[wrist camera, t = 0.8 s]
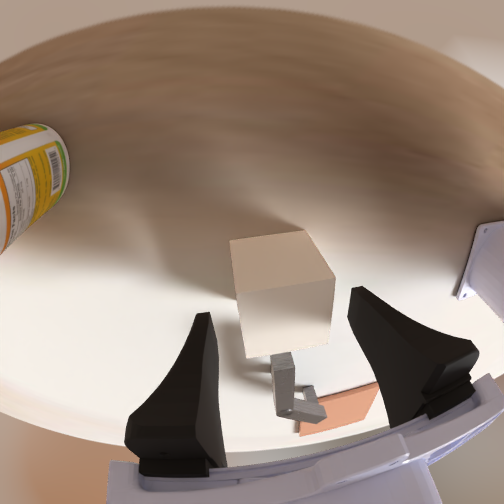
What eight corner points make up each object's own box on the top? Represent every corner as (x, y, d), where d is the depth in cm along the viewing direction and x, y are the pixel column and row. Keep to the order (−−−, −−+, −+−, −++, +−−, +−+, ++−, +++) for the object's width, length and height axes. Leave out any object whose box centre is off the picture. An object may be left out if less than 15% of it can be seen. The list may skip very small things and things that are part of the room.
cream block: (305, 229, 17) (335, 277, 12) (304, 289, 19) (327, 343, 15) (229, 239, 16) (235, 293, 12) (238, 300, 19) (246, 358, 14)
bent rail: (326, 320, 21) (342, 356, 17) (316, 392, 26) (326, 421, 23) (265, 331, 20) (273, 371, 17) (271, 401, 26) (277, 432, 22)
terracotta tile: (378, 381, 27) (380, 385, 27) (362, 416, 32) (364, 419, 31) (301, 402, 27) (303, 406, 26) (298, 432, 31) (299, 436, 31)
